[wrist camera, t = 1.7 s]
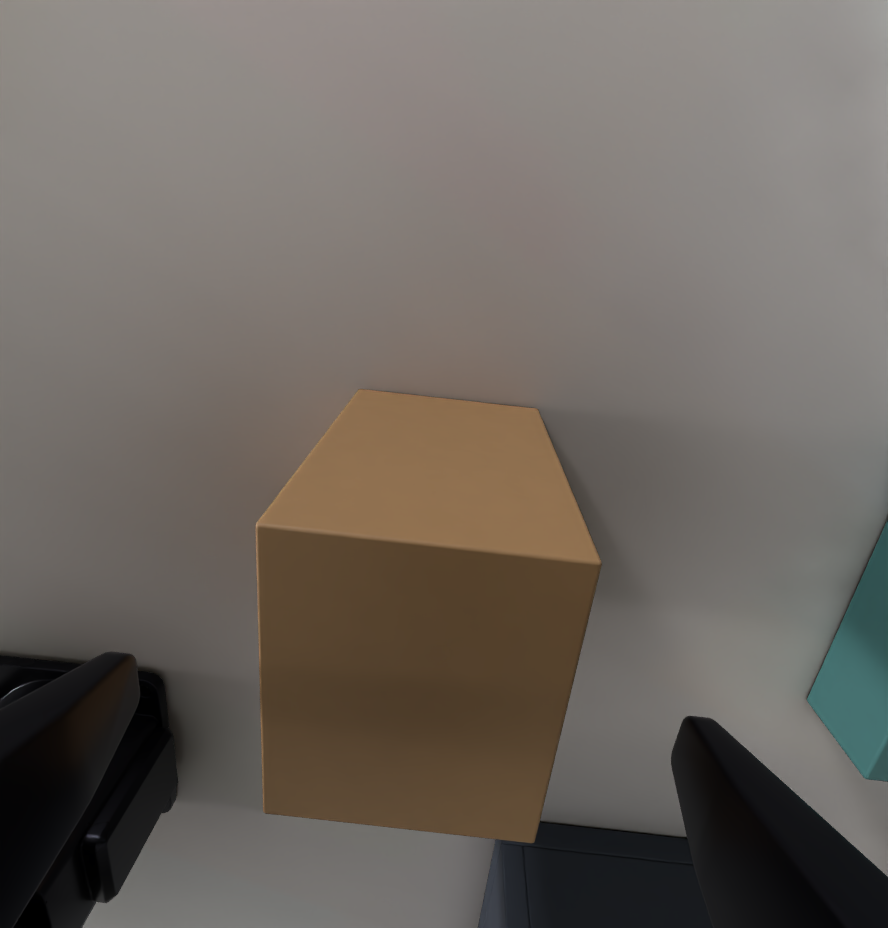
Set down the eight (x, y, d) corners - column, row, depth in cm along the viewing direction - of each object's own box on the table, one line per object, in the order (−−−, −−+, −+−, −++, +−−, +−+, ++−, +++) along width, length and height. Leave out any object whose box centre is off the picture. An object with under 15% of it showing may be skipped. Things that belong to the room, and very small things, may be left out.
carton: (350, 573, 18) (262, 814, 10) (358, 388, 15) (253, 523, 8) (506, 590, 18) (534, 845, 10) (538, 408, 15) (603, 561, 8)
